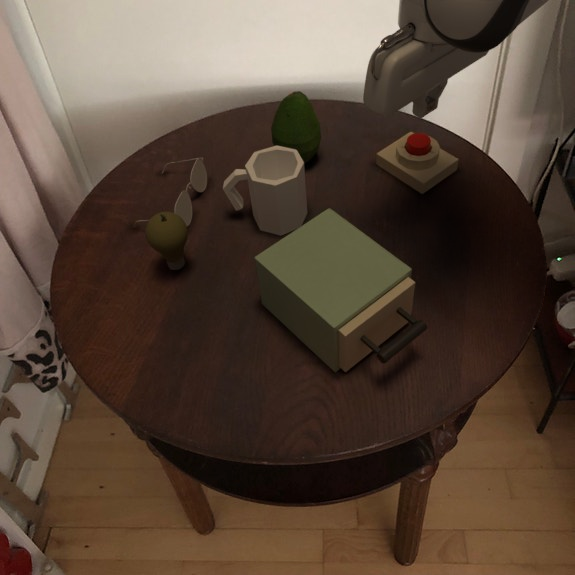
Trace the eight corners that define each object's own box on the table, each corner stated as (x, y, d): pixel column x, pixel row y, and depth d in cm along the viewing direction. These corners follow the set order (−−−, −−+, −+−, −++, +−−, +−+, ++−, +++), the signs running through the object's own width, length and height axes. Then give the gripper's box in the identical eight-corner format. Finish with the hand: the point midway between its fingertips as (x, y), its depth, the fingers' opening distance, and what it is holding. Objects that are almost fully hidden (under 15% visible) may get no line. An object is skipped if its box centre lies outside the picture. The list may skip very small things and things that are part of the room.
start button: (434, 149, 97) (435, 140, 95) (418, 159, 95) (419, 150, 94) (417, 138, 98) (418, 129, 97) (401, 149, 97) (402, 140, 96)
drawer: (435, 340, 78) (443, 302, 72) (369, 395, 74) (372, 359, 68) (338, 263, 87) (338, 223, 81) (275, 307, 83) (269, 269, 77)
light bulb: (205, 264, 90) (191, 215, 82) (175, 288, 87) (159, 239, 80) (179, 246, 92) (164, 196, 85) (150, 268, 90) (132, 219, 82)
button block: (457, 170, 98) (460, 149, 95) (422, 194, 96) (424, 174, 92) (410, 141, 104) (412, 122, 101) (375, 164, 101) (376, 144, 98)
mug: (307, 194, 97) (303, 143, 90) (307, 234, 92) (304, 184, 84) (231, 198, 98) (221, 148, 91) (227, 238, 93) (216, 188, 85)
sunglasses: (184, 236, 94) (172, 212, 90) (135, 236, 96) (122, 213, 93) (211, 175, 102) (201, 151, 98) (166, 177, 105) (154, 153, 101)
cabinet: (406, 316, 81) (412, 268, 74) (335, 373, 77) (334, 328, 69) (330, 256, 89) (329, 207, 82) (262, 304, 84) (253, 257, 77)
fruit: (323, 143, 105) (321, 80, 96) (320, 174, 100) (317, 111, 91) (277, 143, 106) (270, 80, 97) (271, 174, 101) (264, 111, 92)
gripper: (395, 56, 65) (386, 160, 76) (516, -15, 73) (493, 89, 83) (352, 34, 68) (350, 136, 79) (473, -32, 76) (455, 70, 87)
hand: (424, 111), depth 81 cm, fingers closed
